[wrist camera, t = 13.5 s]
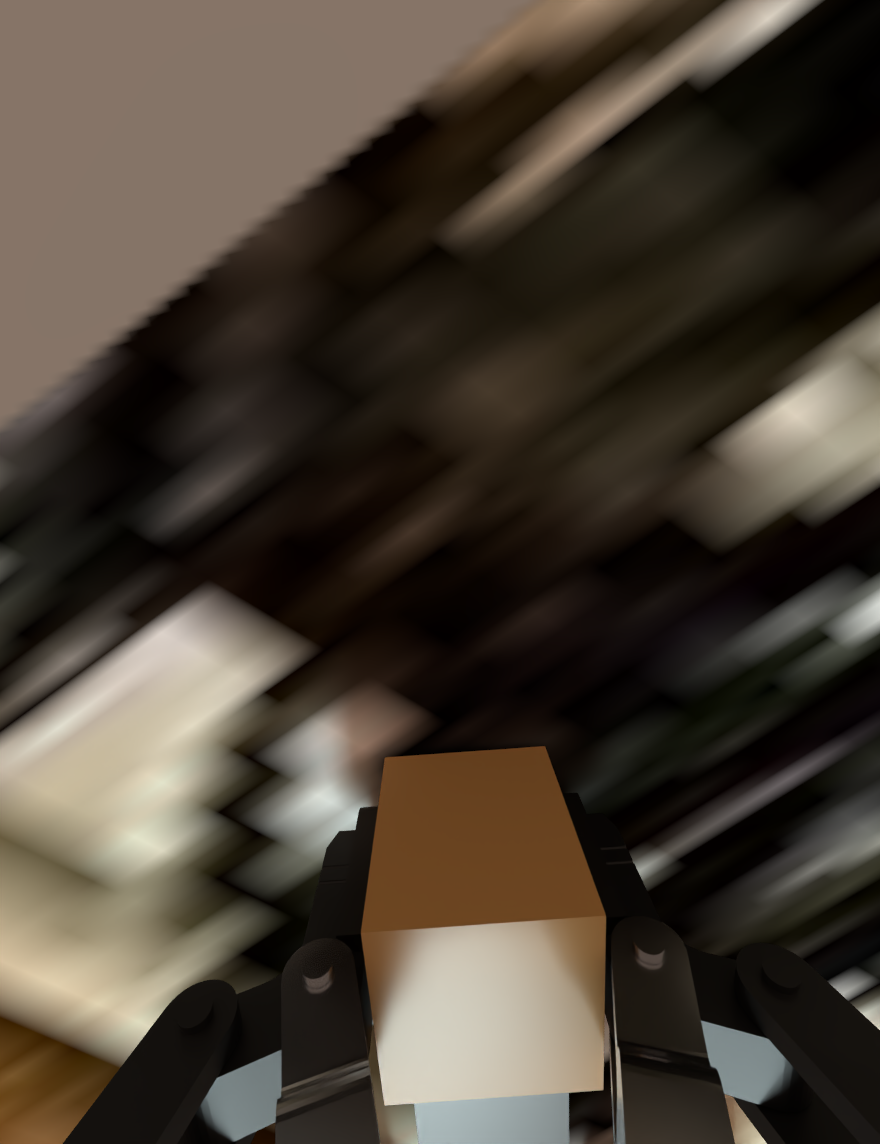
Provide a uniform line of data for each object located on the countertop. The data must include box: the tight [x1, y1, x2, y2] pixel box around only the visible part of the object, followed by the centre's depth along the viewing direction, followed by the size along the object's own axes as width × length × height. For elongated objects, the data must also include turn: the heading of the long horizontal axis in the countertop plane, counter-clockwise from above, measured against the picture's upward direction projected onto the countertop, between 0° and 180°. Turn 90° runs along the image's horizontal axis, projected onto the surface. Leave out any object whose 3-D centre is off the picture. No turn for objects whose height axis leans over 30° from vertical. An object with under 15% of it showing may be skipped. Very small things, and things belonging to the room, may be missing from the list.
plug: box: [361, 746, 606, 1144], centre depth 13 cm, size 14×4×5 cm, turn 4°
